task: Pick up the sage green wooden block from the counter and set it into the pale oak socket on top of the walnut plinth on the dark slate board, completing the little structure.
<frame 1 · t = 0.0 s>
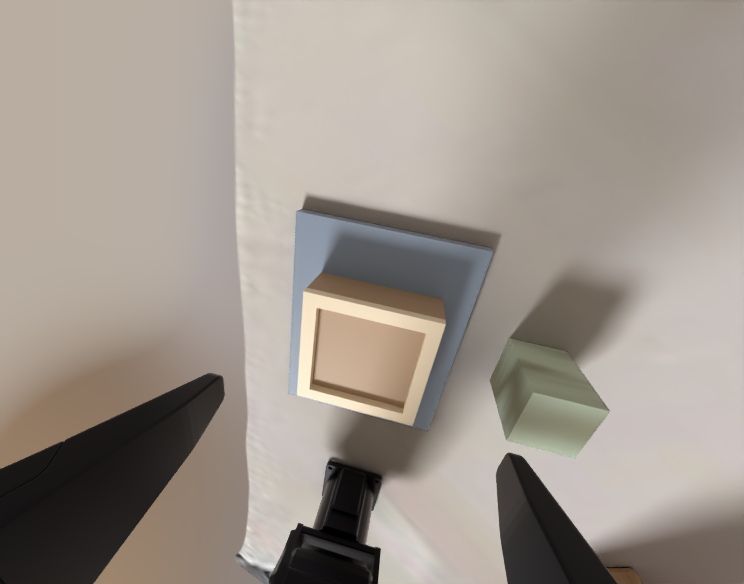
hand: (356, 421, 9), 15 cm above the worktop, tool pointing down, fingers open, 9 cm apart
build base: (373, 330, 25), on the worktop
sage block: (526, 366, 24), on the worktop
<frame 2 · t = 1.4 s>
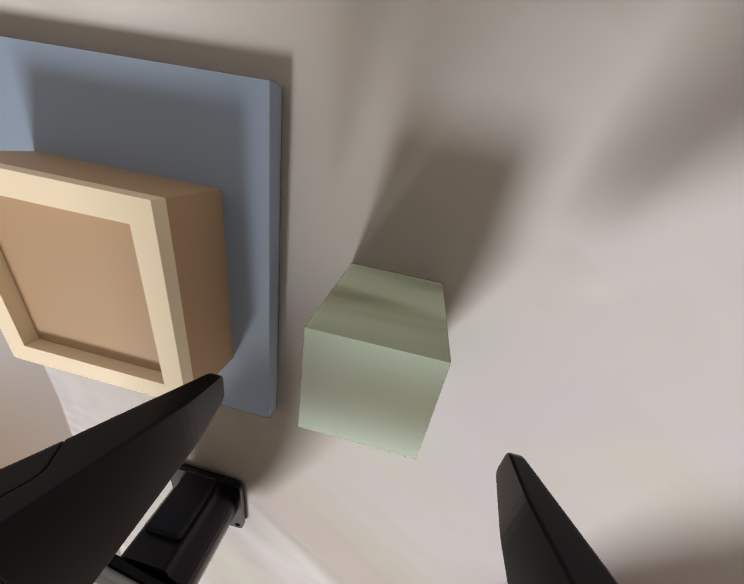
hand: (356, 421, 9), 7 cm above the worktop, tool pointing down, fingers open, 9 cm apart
build base: (160, 260, 16), on the worktop
sage block: (387, 312, 15), on the worktop
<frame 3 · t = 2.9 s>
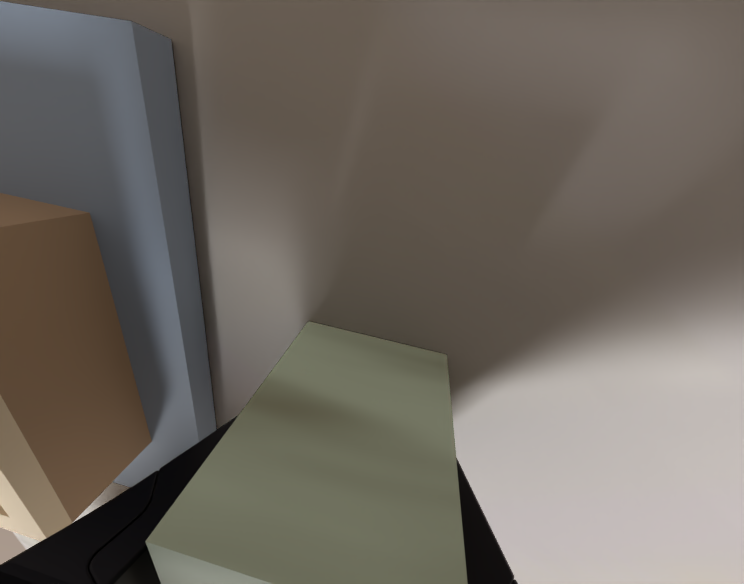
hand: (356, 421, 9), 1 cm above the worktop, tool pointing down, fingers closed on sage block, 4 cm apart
build base: (42, 306, 11), on the worktop
sage block: (365, 389, 10), on the worktop, touching gripper
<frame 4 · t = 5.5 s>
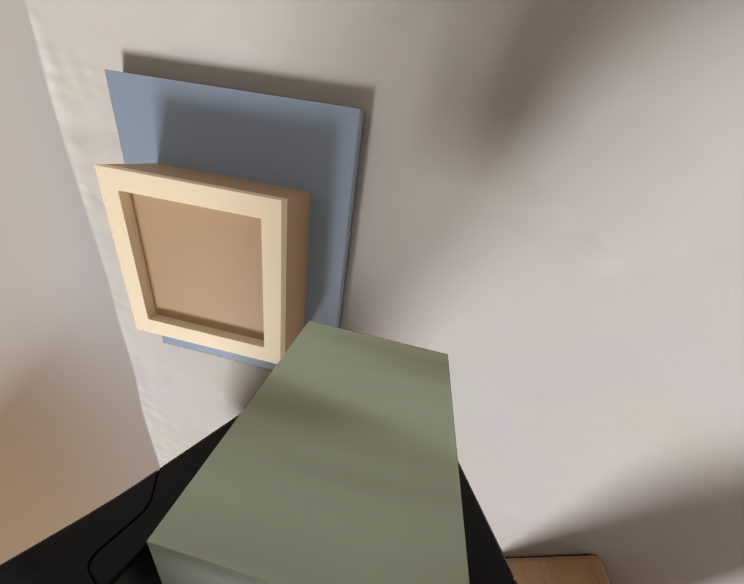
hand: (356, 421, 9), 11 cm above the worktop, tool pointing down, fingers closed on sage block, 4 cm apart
build base: (246, 250, 20), on the worktop
sage block: (366, 389, 10), point 9 cm above the worktop, touching gripper
wooden block: (551, 579, 30), on the worktop
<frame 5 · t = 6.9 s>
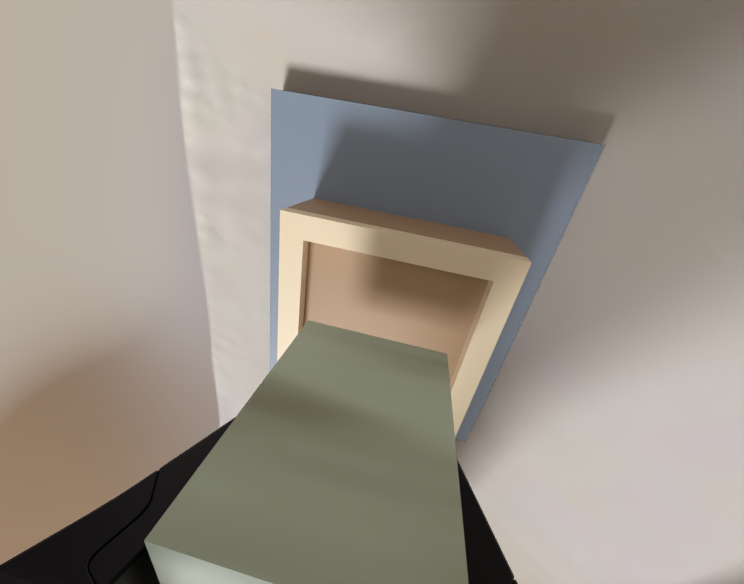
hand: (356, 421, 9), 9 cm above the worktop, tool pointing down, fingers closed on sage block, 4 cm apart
build base: (391, 294, 17), on the worktop
sage block: (365, 388, 10), point 8 cm above the worktop, touching gripper
when the fingers open (7 cm above the worktop, at t = 8.1 s): sage block drops 1 cm, resting on build base.
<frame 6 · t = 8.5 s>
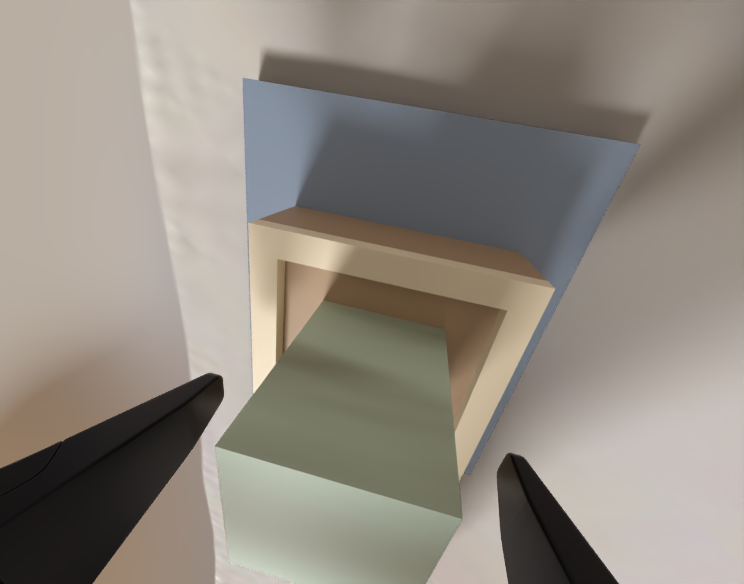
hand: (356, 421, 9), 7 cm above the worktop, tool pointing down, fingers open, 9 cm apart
build base: (386, 313, 15), on the worktop
sage block: (372, 362, 11), point 4 cm above the worktop, touching build base
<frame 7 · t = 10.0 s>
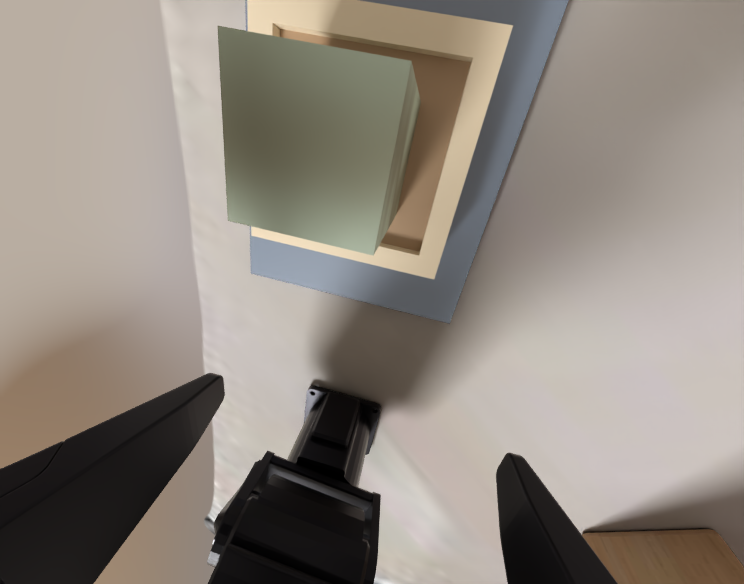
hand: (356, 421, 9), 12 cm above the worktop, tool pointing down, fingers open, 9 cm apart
build base: (373, 152, 16), on the worktop
sage block: (357, 152, 13), point 4 cm above the worktop, touching build base
wooden block: (647, 556, 27), on the worktop
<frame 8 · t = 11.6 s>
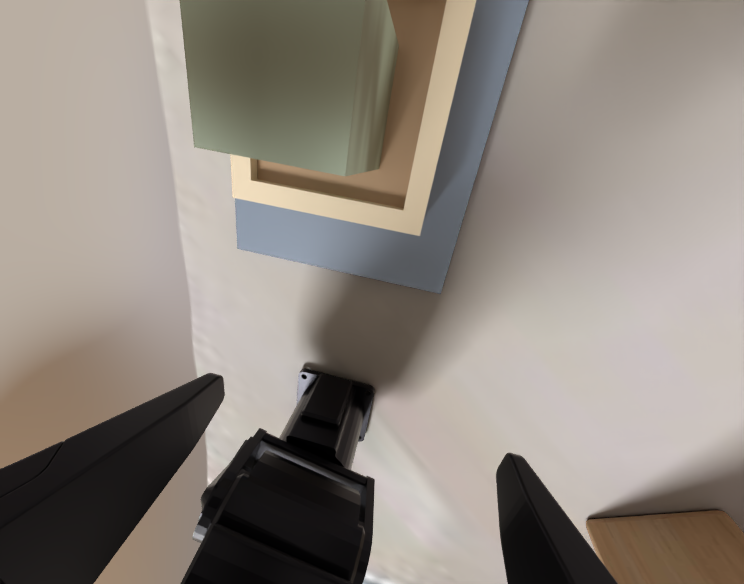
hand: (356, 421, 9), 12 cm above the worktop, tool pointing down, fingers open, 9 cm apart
build base: (357, 116, 16), on the worktop
sage block: (337, 103, 12), point 4 cm above the worktop, touching build base
wooden block: (655, 543, 26), on the worktop
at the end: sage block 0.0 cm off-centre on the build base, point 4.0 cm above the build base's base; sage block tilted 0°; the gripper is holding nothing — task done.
